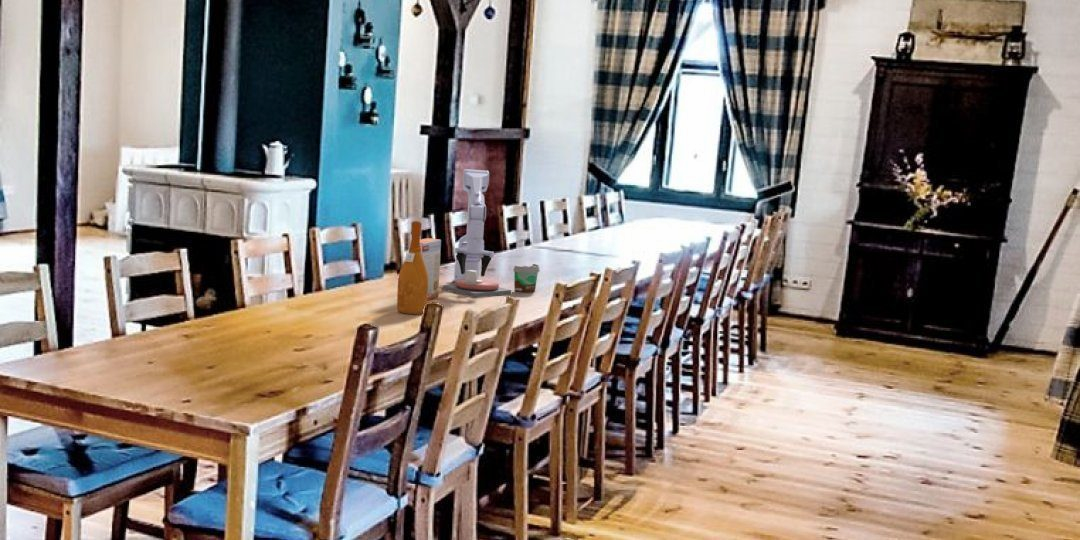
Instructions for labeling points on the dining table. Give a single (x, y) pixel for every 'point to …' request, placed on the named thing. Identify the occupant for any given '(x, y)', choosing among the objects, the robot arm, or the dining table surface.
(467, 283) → the handwheel
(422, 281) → the wine bottle
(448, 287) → the base plate
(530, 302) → the dining table surface
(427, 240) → the cracker box
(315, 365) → the dining table surface
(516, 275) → the food container
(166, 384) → the dining table surface
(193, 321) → the dining table surface
